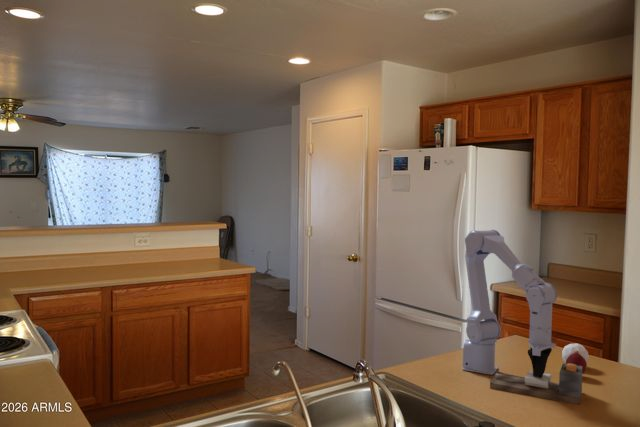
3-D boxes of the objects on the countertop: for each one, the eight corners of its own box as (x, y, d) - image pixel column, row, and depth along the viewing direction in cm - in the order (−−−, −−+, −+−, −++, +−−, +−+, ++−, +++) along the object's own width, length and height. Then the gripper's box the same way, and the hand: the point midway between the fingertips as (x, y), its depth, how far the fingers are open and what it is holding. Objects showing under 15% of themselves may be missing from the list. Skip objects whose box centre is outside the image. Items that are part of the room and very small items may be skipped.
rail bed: (490, 387, 153) (490, 361, 153) (497, 377, 162) (497, 352, 161) (579, 404, 142) (580, 376, 141) (581, 392, 150) (582, 365, 150)
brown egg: (565, 379, 146) (565, 365, 146) (566, 376, 149) (566, 362, 149) (575, 380, 145) (576, 367, 145) (576, 378, 147) (576, 364, 147)
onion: (588, 380, 160) (589, 354, 160) (568, 378, 161) (568, 352, 161) (583, 374, 166) (584, 348, 166) (563, 372, 167) (564, 347, 167)
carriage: (524, 386, 150) (525, 363, 149) (528, 378, 156) (528, 356, 155) (547, 390, 147) (548, 367, 146) (550, 382, 153) (551, 360, 153)
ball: (575, 377, 171) (569, 360, 167) (560, 361, 178) (554, 345, 175) (596, 366, 171) (591, 349, 167) (580, 350, 178) (574, 334, 174)
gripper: (552, 334, 142) (551, 385, 143) (558, 323, 155) (557, 369, 155) (524, 331, 146) (523, 380, 146) (532, 320, 158) (531, 365, 159)
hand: (539, 374), depth 151 cm, fingers closed on carriage, 2 cm apart
